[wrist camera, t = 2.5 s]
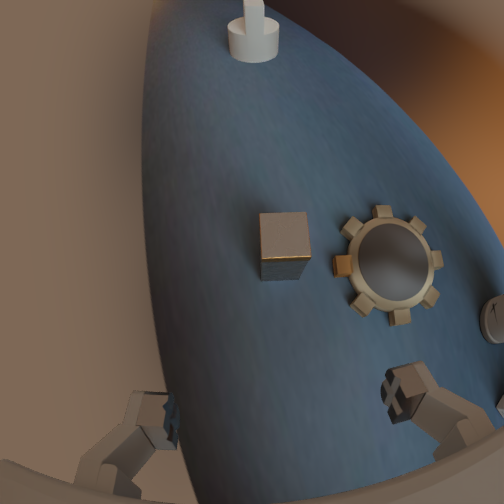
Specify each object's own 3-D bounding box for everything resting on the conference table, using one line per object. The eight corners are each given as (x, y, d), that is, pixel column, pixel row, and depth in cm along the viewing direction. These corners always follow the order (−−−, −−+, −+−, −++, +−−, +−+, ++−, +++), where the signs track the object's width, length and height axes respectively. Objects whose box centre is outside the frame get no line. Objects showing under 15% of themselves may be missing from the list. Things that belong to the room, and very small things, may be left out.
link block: (299, 280, 32) (311, 256, 24) (260, 281, 32) (261, 258, 24) (295, 244, 33) (306, 211, 26) (258, 245, 33) (259, 212, 26)
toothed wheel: (444, 317, 30) (453, 315, 28) (339, 332, 30) (344, 330, 28) (424, 211, 34) (430, 205, 33) (325, 211, 34) (328, 204, 33)
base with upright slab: (229, 41, 48) (225, -9, 36) (275, 39, 48) (276, -10, 36) (229, 64, 45) (224, 7, 33) (280, 62, 45) (284, 6, 33)
